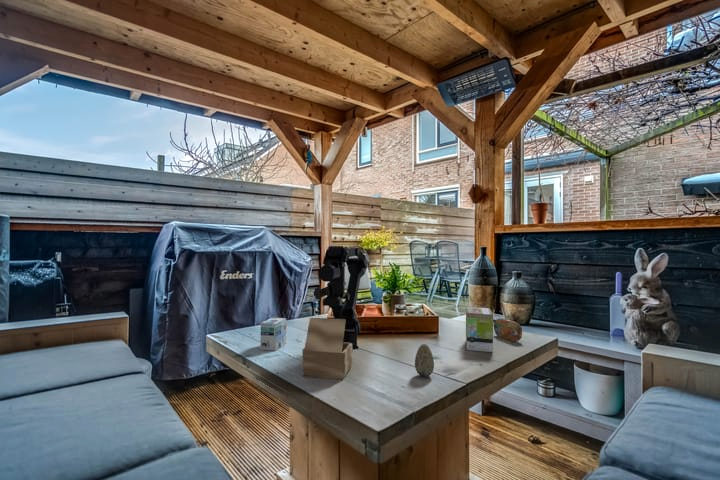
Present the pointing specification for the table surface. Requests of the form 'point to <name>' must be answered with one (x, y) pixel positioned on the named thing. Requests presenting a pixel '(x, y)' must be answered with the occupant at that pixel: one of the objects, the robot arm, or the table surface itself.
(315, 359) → the carton
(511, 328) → the tin
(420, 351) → the decorative egg
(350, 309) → the robot arm
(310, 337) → the carton flap
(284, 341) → the light bulb box
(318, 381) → the table surface
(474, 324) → the tea box
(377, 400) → the table surface
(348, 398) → the table surface
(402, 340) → the table surface
